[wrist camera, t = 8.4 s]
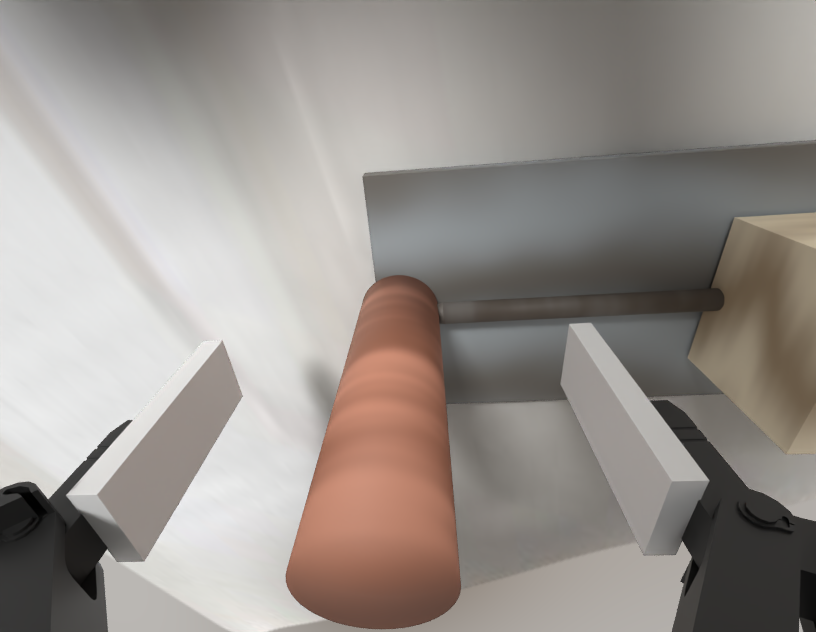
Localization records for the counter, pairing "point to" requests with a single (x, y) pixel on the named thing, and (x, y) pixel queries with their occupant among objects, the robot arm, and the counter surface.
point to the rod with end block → (428, 428)
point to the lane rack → (576, 252)
